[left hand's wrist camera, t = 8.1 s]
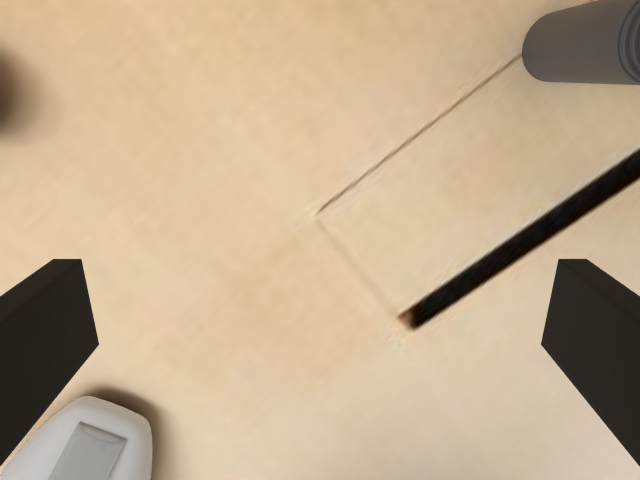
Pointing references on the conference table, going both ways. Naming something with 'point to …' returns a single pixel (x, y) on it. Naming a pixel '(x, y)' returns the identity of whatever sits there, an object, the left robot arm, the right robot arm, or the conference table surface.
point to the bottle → (586, 44)
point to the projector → (86, 445)
